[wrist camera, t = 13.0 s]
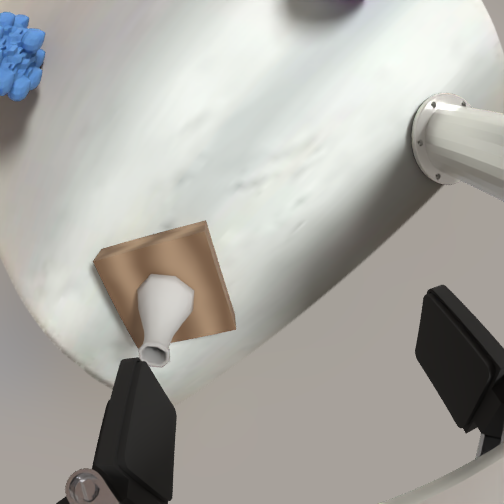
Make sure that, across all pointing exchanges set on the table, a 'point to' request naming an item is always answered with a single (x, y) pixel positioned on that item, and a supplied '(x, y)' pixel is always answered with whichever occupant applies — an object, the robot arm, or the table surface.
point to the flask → (162, 315)
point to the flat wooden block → (172, 264)
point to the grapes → (19, 56)
